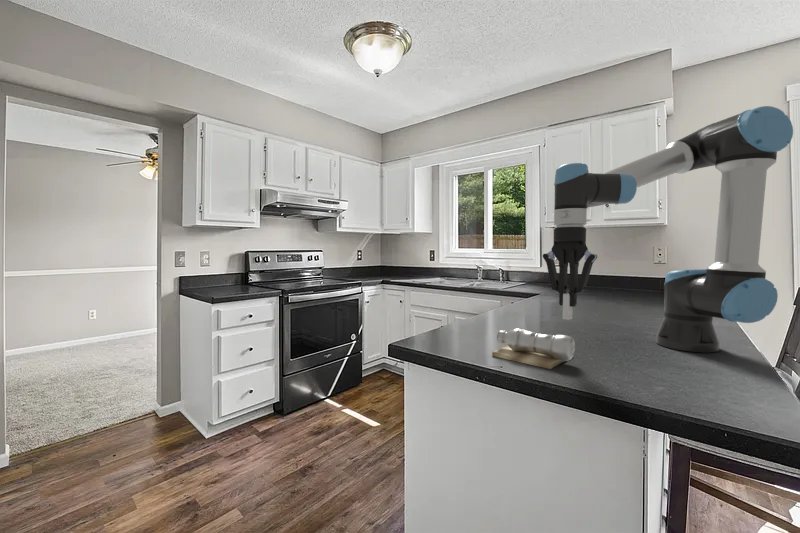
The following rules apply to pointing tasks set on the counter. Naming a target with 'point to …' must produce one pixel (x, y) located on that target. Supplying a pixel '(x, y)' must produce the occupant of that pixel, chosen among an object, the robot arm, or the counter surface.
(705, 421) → the counter surface
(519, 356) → the birch board
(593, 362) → the counter surface
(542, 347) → the plastic bottle
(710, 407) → the counter surface
